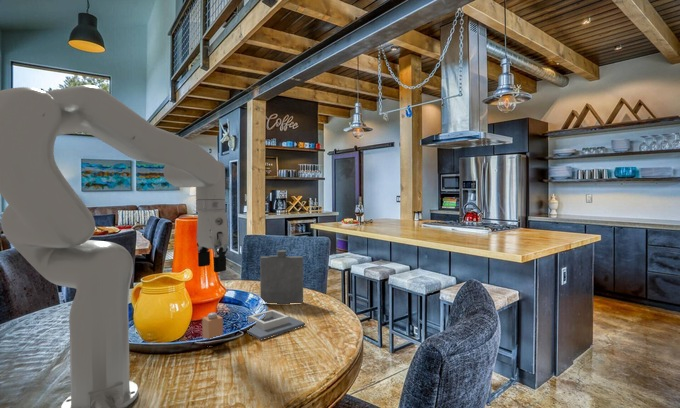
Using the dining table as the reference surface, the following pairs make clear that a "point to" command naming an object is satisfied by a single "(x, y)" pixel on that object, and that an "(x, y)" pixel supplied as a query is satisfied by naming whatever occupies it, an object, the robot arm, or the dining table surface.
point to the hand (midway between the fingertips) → (211, 268)
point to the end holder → (272, 324)
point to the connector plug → (212, 326)
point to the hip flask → (281, 278)
